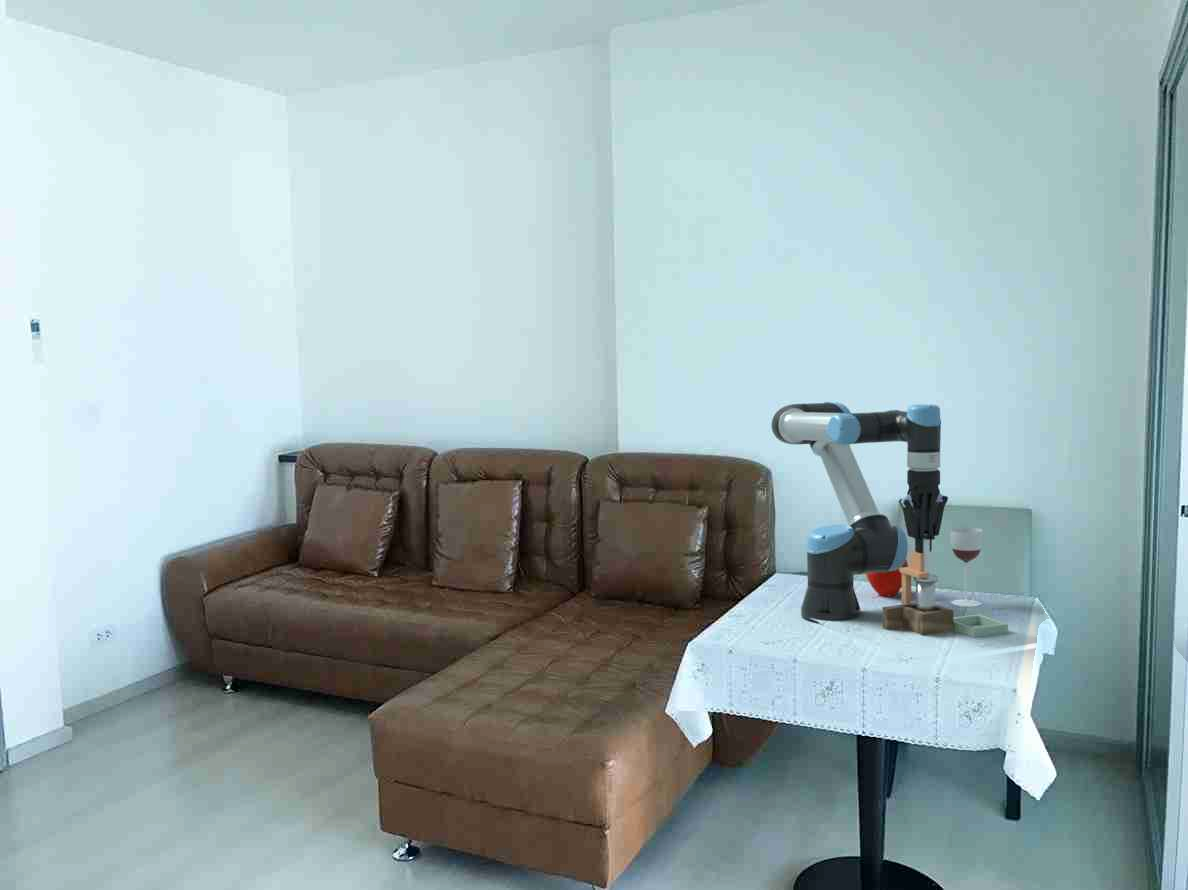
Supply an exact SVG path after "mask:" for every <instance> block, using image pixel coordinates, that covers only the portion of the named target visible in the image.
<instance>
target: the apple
mask: <svg viewBox="0 0 1188 890" xmlns="http://www.w3.org/2000/svg"><path fill="white" fill-rule="evenodd" d="M903 567H909V565H908V561H907V559H906V560H905V562H904V564H903V566H902V567H901V568H903ZM865 575H866V578H867V581H868V582H869V584H870V586H871V587H872V589H873V590H874V591H875V592H876V593H877V594H878V595H880V596H883V597H892V596H895V595H898V593H899V592H900V591H901V590H902V573H901V572H899V569H898V570H894V571H888V572H886V573H883V572H880V573H869V574H865Z"/></svg>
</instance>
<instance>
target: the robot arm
mask: <svg viewBox="0 0 1188 890" xmlns="http://www.w3.org/2000/svg"><path fill="white" fill-rule="evenodd" d="M941 426H942V419H941V408H940V407H939V406H938V405H936V404H925V403H924V404H911V405H908V407H907V411H905V410H899V409H894V410H893V409H891V410H885V411H875V412H874V411H873V412H851V410H850V409H849V408H848V407H847V406H846V405H844V404H843V403H841V402H832V401H824V402H817V403H794V404H792V403H791V404H787V405H785V406H782V407H781V408H780V409H778V410H777V411H776V412H775V413H774V414H773V417H772V419H771V431H772V434H773V435H774V437H775V438H776V439H777V440H778V441H780V442H781V443H782V442H783V443H785V444H788V445H809V446H810V449H811V451H812V453H813V454H814V455H815V456H817V457H820V458H821V460H822V464H823V465H824V468H825V470H826V472H827V475H828V478H829V481H830V482H831V485H832V487H833V490H834V493H835V495H836V497H837V499H838V501H839V505H840V507H841V509H842V512H843V514H844V517H845V519H846V521H847V524H848V525H847V524H836V525H835V524H830V525H824V526H820V527H816V528H814V529H813V530H811V531H810V532H809V533H808V534H807V535H808V536H807V540H806V541H807V543H806V551H807V552H806V558H807V559H806V560H807V561H806V563H807V564H806V565H807V568H806V569H807V586H806V587H807V588H806V591H805V594H804V596H803V600H802V604H801V607H800V615H801V616H800V617H802V618H803V619H805V620H806V621H809V622H814V623H817V624H818V623H820V622H819V621H817V620H820V621H828V622H830V621H831V622H833V621H834V622H839V621H841V622H843V621H850V620H854V619H857V618H859V617H860V616H861V613H862V611H861V606H860V603H859V601H858V597H857V594H856V591H855V589H854V586H855V585H854V576H856V575H866V574H869V573H880V572H883V573H886V572H888V571H894V570H898V569H899V568H901V567H902V566H903V564H904V562H905V560H907V557H908V551H909V550H908V549H909V548H908V547H909V545H908V543H909V542H908V539H907V536H908V537H909V538H912V539H914V545H915V546H914V551H916V552H918V553H924V568H926V567H930V565H931V564H930V557H931V556H930V555H931V554H930V553H931V552H932V551H933V550H932V549H933V548H932V546H933V545H932V540H935V538H936V536H937V537H938V536H939V535H940V531H941V526H942V521H943V516H944V511H945V506H946V504H947V503H948V501H949V497H948V496H947V495H943V494H942V493H941V491H940V488H939V486H940V484H941V471H940V469H939V468H941V436H942V435H941V432H942V430H941V428H942V427H941ZM892 442H903V443H904V442H905V443H907V448H906V449H907V450H906V453H907V454H906V455H907V457H906V465H907V468H909V469H908V470H907V471H906V472H907V473H906V474H907V475H906V477H907V478H906V479H907V481H906V483H907V485H908V489H907V492H906V493H907V495H906V496H905V497H903V498H899V499H898V503H899V505H900V506H901V509H902V512H903V518H904V523H905V527H906V532H907V535H906V533H905V531H904V529H903V528H901V527H899V526H896V525H893V526H892V525H891V523H890V520H889V518H888V516H887V515H886V514H884V513H880V511H879V509H878V507H877V505H876V503H875V501H874V498H873V495H872V494H871V491H870V488H869V487H868V484H867V482H866V479H865V478H864V475H863V472H862V471H861V468H860V466H859V464H858V462H857V459H856V457H855V454H854V452H853V450H852V448H851V445H856V444H869V443H870V444H872V443H873V444H874V443H892ZM820 624H821V623H820Z"/></svg>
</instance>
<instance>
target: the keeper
mask: <svg viewBox="0 0 1188 890" xmlns="http://www.w3.org/2000/svg"><path fill="white" fill-rule="evenodd" d="M899 572H901V573H902V588H901V605H903V604H904V605H910V604H911V603H912V577H913V578H914V577H917V578H924V577H929V574H930V571H929V572H928V571H925V567H924V553H918V552H916V551H915V549H912V550H909V566H908V567H903V568H899Z"/></svg>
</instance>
